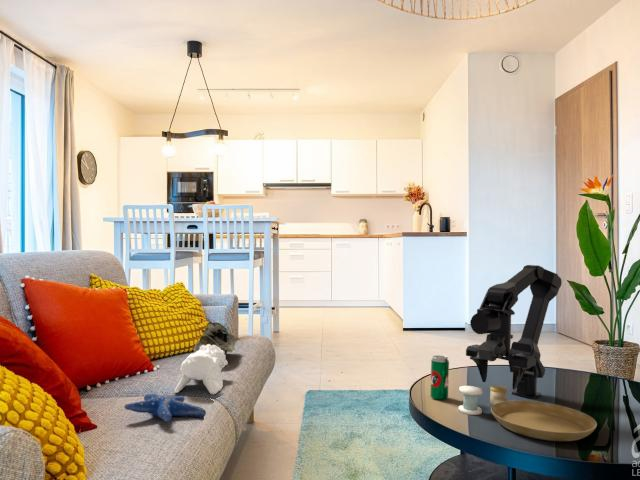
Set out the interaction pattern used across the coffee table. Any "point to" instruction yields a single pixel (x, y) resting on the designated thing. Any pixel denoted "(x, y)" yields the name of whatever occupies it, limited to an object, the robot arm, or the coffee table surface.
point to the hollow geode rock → (216, 338)
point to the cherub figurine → (204, 368)
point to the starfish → (166, 407)
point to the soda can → (439, 377)
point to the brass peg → (498, 394)
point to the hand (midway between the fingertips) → (498, 385)
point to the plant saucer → (543, 420)
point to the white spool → (470, 400)
